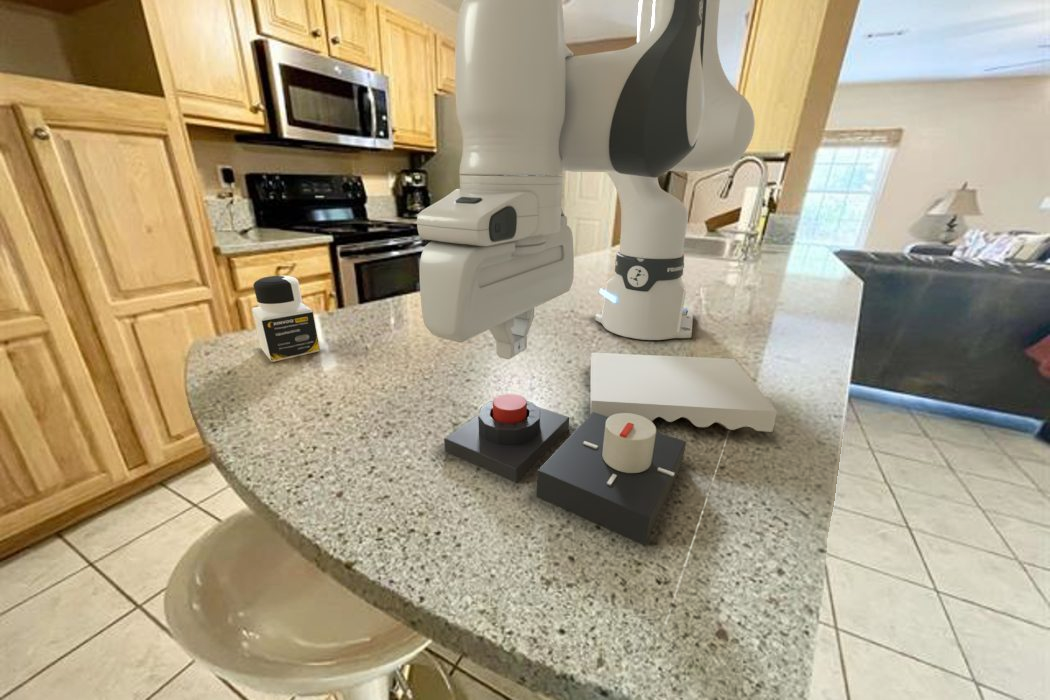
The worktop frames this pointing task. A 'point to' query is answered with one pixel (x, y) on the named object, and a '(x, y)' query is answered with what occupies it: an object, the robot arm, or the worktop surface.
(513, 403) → the power button
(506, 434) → the box
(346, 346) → the worktop surface
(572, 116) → the robot arm
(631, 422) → the dial
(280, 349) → the medicine bottle
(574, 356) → the worktop surface
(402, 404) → the worktop surface
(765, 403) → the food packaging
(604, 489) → the control panel
